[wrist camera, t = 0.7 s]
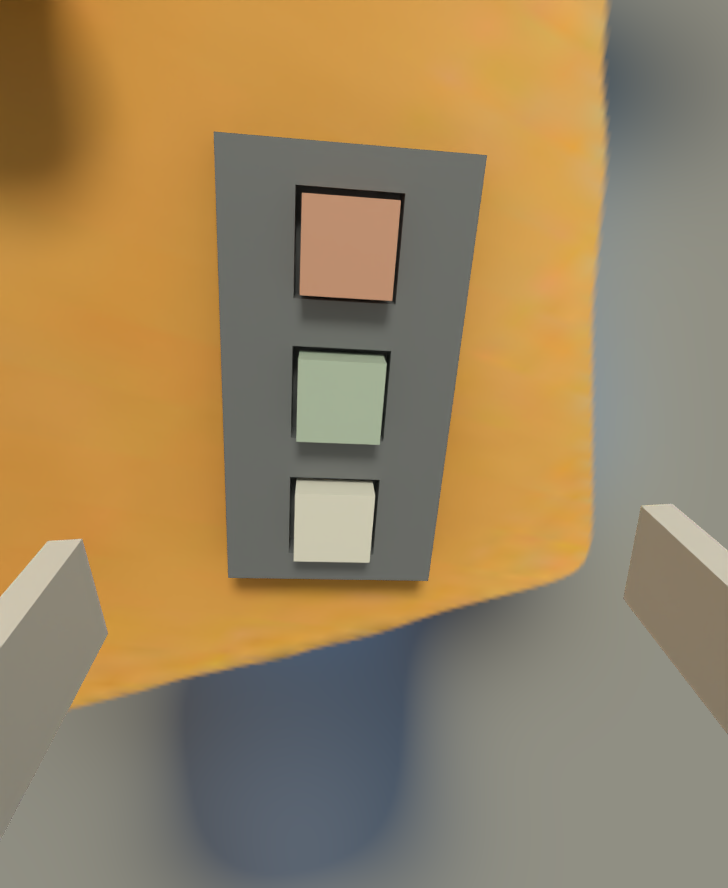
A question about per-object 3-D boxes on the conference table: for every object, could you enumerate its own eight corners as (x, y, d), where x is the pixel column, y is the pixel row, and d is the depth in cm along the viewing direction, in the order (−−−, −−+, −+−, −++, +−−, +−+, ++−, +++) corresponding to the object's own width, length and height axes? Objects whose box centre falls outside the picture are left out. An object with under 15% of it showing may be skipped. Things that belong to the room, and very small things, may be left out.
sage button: (297, 428, 34) (296, 441, 32) (299, 350, 33) (298, 359, 31) (376, 431, 35) (379, 444, 33) (382, 354, 33) (386, 363, 31)
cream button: (295, 542, 38) (293, 561, 36) (296, 477, 36) (295, 493, 34) (366, 544, 38) (369, 562, 36) (372, 480, 36) (375, 496, 34)
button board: (233, 556, 40) (228, 577, 38) (222, 137, 30) (213, 131, 27) (422, 560, 41) (428, 580, 39) (474, 159, 31) (487, 155, 29)
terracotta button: (301, 289, 31) (299, 295, 29) (303, 194, 29) (301, 192, 27) (387, 295, 32) (392, 300, 30) (395, 201, 30) (400, 200, 28)
